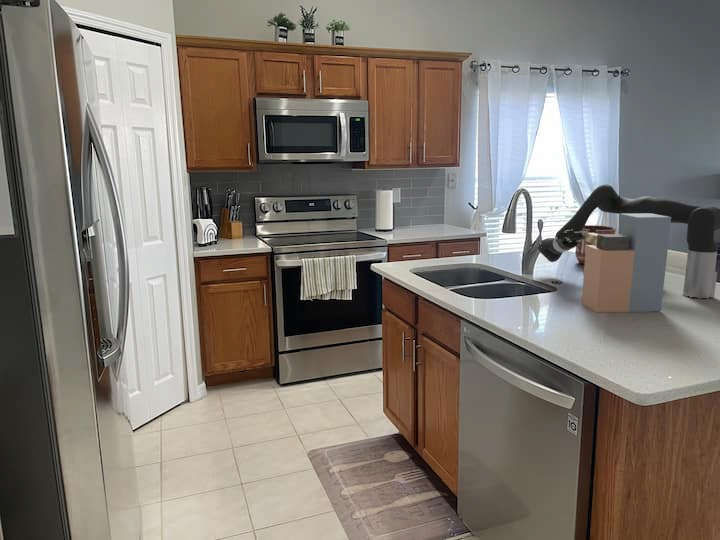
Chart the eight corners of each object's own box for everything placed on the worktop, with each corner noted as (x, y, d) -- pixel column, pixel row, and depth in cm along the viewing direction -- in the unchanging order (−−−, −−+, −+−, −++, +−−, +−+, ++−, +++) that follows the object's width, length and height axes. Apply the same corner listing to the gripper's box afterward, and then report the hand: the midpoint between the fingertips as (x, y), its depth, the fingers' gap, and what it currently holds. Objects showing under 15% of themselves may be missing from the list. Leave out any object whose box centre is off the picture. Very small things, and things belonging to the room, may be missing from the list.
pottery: (565, 262, 271) (567, 226, 267) (591, 259, 278) (594, 224, 274) (593, 269, 255) (597, 231, 251) (620, 266, 262) (624, 228, 258)
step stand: (642, 302, 197) (651, 213, 191) (660, 311, 186) (671, 217, 179) (581, 303, 197) (588, 213, 190) (596, 312, 185) (604, 217, 179)
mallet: (578, 240, 203) (579, 228, 202) (599, 240, 203) (600, 228, 202) (604, 250, 182) (605, 236, 181) (628, 250, 182) (629, 236, 181)
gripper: (547, 233, 224) (563, 223, 208) (580, 231, 225) (600, 220, 209) (550, 251, 223) (566, 242, 207) (583, 249, 224) (603, 239, 208)
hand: (583, 231), depth 208 cm, fingers open, 8 cm apart
